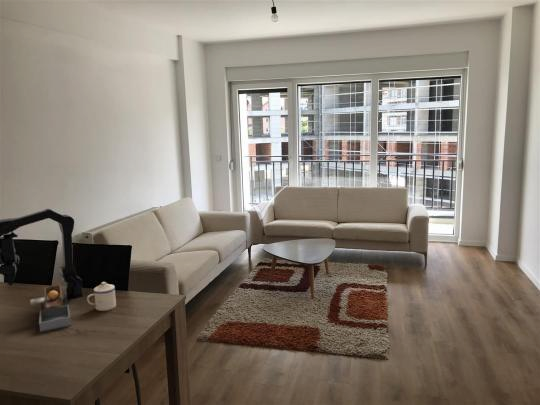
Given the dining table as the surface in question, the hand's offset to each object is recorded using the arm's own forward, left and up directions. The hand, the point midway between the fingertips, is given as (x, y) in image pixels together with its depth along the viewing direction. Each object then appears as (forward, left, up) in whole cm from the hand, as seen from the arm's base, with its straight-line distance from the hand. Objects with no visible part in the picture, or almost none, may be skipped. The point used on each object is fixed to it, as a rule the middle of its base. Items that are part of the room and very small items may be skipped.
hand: (12, 282), depth 189 cm
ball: (-16, +13, -5) cm, 21 cm away
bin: (-16, +24, -13) cm, 31 cm away
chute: (-14, +13, -10) cm, 21 cm away
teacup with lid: (-35, +18, -13) cm, 41 cm away
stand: (-16, +12, -13) cm, 24 cm away
